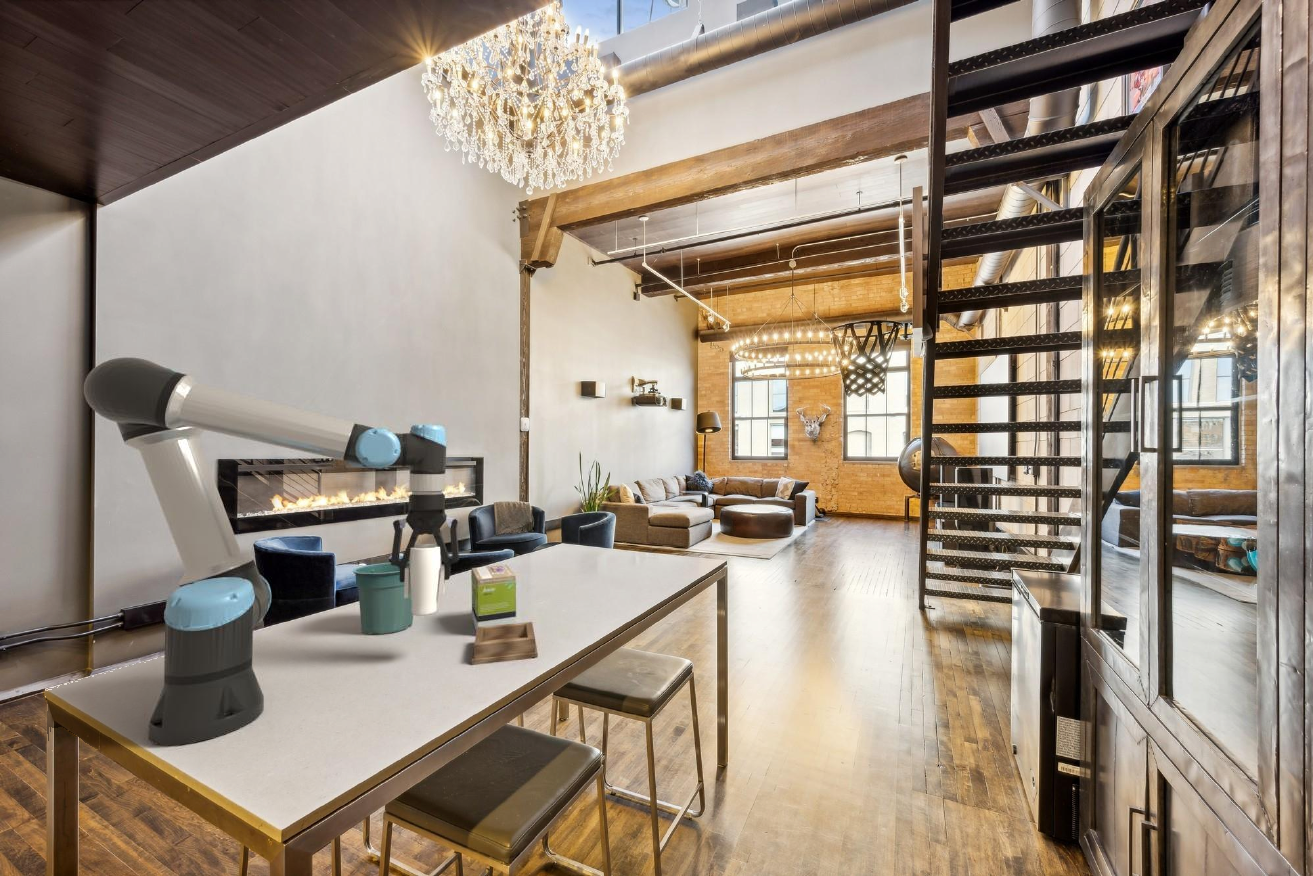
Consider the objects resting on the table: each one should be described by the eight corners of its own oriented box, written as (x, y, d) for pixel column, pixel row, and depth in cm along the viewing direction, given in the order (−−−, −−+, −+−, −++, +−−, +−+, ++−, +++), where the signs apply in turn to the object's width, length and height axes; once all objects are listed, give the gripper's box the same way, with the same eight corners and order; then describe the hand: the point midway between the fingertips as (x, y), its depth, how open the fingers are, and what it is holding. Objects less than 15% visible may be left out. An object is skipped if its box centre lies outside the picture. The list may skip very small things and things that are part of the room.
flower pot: (365, 620, 148) (366, 562, 149) (427, 616, 151) (428, 559, 152) (341, 640, 132) (342, 575, 133) (412, 635, 135) (412, 571, 135)
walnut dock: (471, 664, 115) (471, 646, 115) (475, 643, 129) (475, 626, 129) (537, 657, 119) (537, 639, 119) (534, 637, 133) (534, 621, 133)
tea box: (470, 620, 147) (470, 567, 148) (507, 615, 151) (507, 563, 152) (476, 637, 133) (476, 577, 134) (517, 631, 138) (517, 573, 138)
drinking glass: (400, 616, 117) (402, 547, 118) (421, 608, 123) (423, 543, 124) (427, 619, 115) (429, 549, 116) (446, 610, 122) (448, 544, 122)
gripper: (473, 491, 127) (471, 589, 126) (383, 492, 121) (380, 594, 120) (471, 493, 120) (469, 596, 119) (375, 494, 114) (372, 602, 113)
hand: (424, 595), depth 120 cm, fingers closed on drinking glass, 7 cm apart
